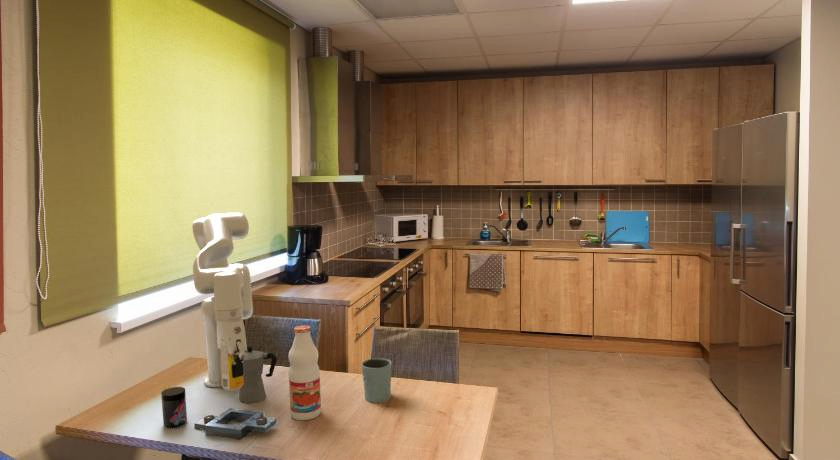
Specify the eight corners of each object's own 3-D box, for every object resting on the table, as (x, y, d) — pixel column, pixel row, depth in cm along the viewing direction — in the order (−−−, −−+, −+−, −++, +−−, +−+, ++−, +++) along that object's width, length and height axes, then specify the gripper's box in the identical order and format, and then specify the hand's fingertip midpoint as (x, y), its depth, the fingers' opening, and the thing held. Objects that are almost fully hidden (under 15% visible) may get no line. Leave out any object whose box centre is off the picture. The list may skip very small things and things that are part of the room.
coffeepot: (228, 404, 186) (225, 351, 184) (236, 393, 196) (233, 342, 194) (275, 403, 187) (273, 350, 185) (281, 392, 196) (279, 341, 194)
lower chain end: (187, 432, 167) (187, 424, 167) (213, 415, 179) (212, 408, 178) (241, 439, 162) (240, 431, 162) (264, 421, 174) (263, 414, 173)
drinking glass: (374, 406, 183) (373, 370, 182) (356, 397, 191) (355, 362, 190) (398, 397, 190) (397, 362, 189) (380, 389, 198) (379, 355, 196)
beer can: (248, 384, 170) (245, 335, 168) (235, 392, 164) (232, 341, 162) (231, 382, 172) (228, 334, 170) (217, 390, 166) (214, 340, 164)
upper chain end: (205, 430, 165) (204, 422, 165) (229, 412, 177) (229, 405, 177) (259, 437, 160) (259, 429, 160) (281, 419, 172) (281, 411, 172)
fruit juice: (317, 405, 184) (314, 321, 181) (324, 417, 176) (321, 329, 173) (288, 411, 181) (284, 325, 178) (293, 423, 172) (289, 333, 169)
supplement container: (165, 431, 168) (163, 397, 167) (161, 422, 174) (159, 390, 173) (189, 425, 172) (187, 392, 171) (184, 417, 178) (182, 385, 177)
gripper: (255, 316, 162) (258, 377, 164) (228, 307, 174) (231, 363, 176) (230, 321, 157) (233, 384, 159) (203, 311, 169) (207, 370, 171)
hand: (232, 373), depth 167 cm, fingers closed on beer can, 6 cm apart
